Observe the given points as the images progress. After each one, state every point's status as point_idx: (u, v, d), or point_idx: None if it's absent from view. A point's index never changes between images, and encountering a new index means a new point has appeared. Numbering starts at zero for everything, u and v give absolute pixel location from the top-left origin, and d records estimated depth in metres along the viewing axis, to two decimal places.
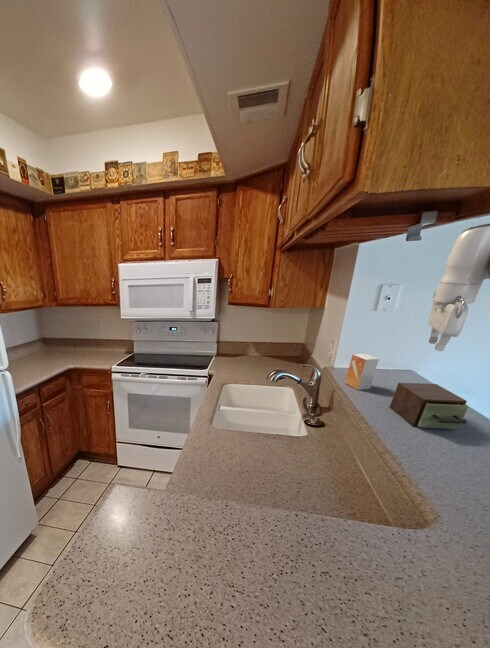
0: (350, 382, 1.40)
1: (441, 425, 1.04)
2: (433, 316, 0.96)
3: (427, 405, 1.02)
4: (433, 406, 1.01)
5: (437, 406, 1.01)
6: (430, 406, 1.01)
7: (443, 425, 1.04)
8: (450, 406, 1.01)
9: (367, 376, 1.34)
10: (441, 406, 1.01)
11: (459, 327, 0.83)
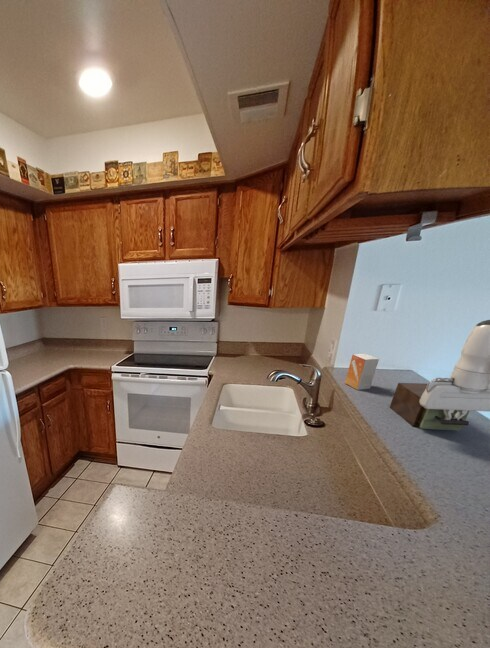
0: (350, 382, 1.40)
1: (443, 427, 1.03)
2: None
3: None
4: None
5: None
6: None
7: (445, 427, 1.03)
8: None
9: (367, 376, 1.34)
10: None
11: (425, 400, 0.96)
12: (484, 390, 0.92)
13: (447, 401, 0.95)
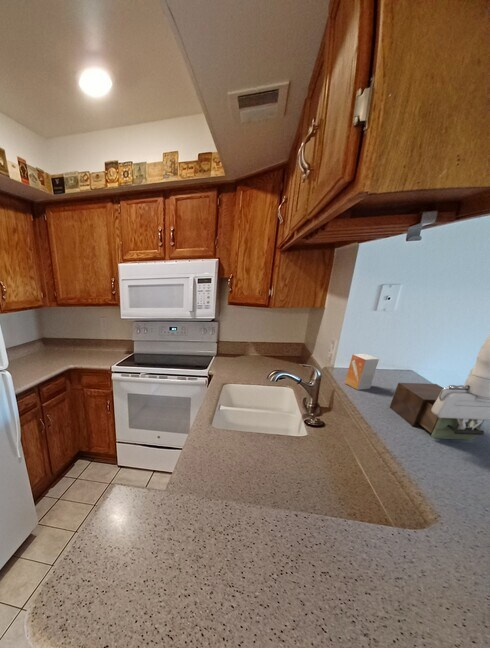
0: (350, 382, 1.40)
1: (456, 436, 0.97)
2: None
3: None
4: None
5: None
6: None
7: (458, 436, 0.97)
8: None
9: (367, 376, 1.34)
10: None
11: (438, 409, 0.91)
12: None
13: (461, 410, 0.90)
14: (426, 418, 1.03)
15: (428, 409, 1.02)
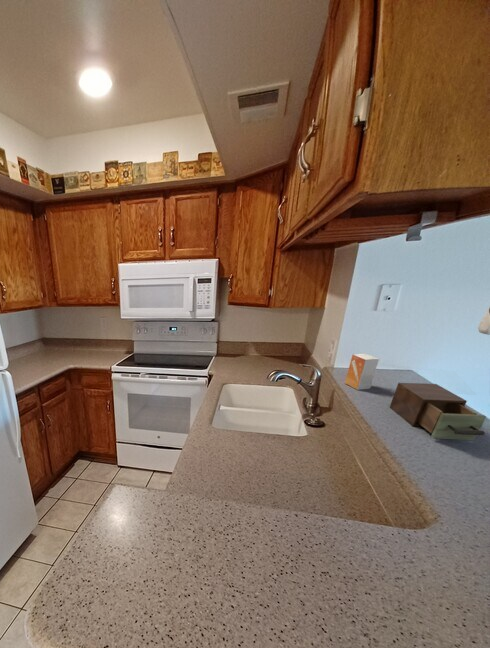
0: (350, 382, 1.40)
1: (456, 436, 0.97)
2: None
3: (442, 415, 0.95)
4: (448, 416, 0.95)
5: (453, 416, 0.95)
6: (445, 416, 0.95)
7: (458, 436, 0.97)
8: (466, 416, 0.94)
9: (367, 376, 1.34)
10: (457, 416, 0.94)
11: (488, 324, 0.81)
12: None
13: None
14: (426, 418, 1.03)
15: (428, 409, 1.02)
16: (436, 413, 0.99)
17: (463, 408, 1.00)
